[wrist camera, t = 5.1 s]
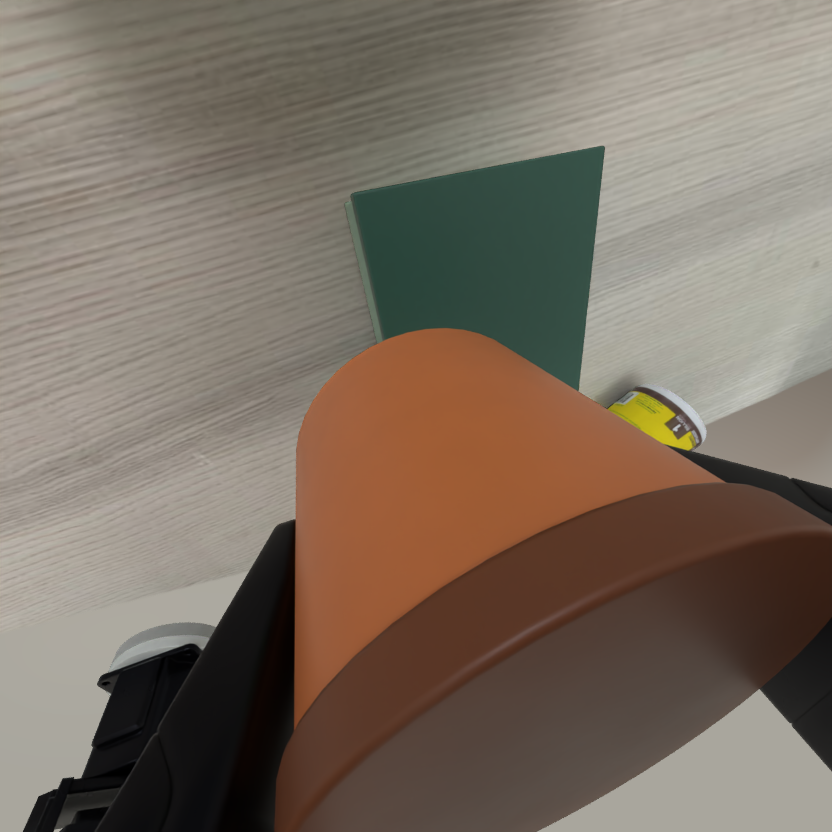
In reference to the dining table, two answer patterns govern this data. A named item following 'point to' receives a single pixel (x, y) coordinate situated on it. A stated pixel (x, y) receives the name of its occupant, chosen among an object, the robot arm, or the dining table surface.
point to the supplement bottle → (661, 416)
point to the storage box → (486, 255)
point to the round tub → (515, 595)
